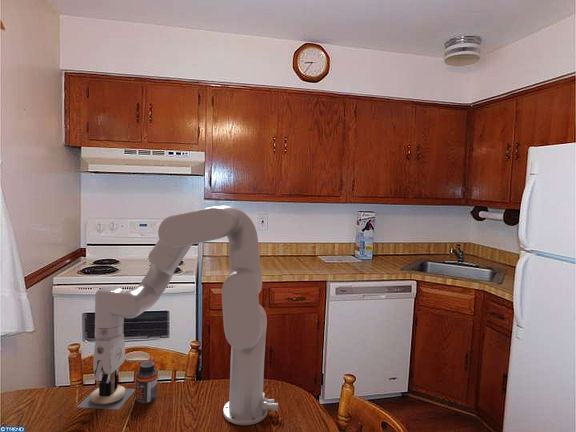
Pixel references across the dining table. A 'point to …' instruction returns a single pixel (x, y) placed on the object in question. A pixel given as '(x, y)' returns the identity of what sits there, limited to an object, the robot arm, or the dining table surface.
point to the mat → (115, 405)
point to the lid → (115, 393)
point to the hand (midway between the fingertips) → (108, 391)
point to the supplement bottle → (146, 383)
